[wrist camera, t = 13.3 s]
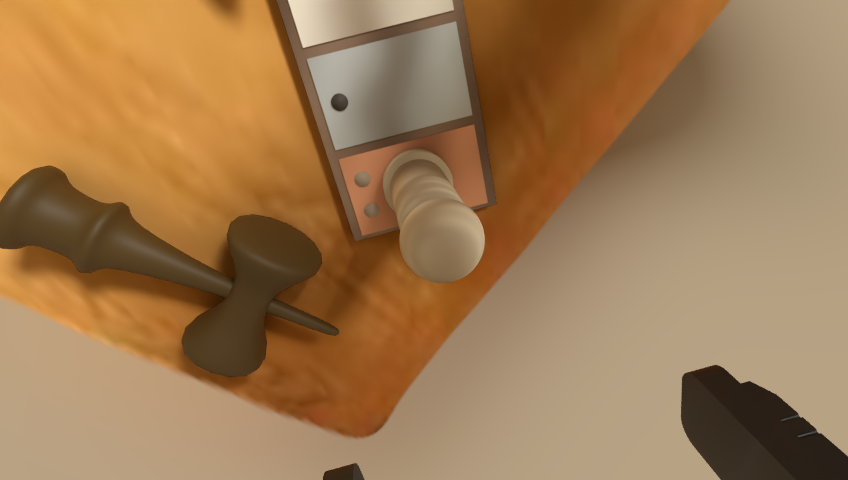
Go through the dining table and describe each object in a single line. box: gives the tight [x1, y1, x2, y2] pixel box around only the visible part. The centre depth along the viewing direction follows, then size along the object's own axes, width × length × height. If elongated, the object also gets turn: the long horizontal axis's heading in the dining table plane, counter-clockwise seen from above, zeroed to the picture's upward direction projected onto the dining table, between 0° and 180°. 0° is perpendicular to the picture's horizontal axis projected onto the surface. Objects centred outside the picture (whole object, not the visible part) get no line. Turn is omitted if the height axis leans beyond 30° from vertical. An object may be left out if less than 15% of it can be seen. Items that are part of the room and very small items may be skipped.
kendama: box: [0, 166, 339, 377], centre depth 29 cm, size 6×10×20 cm
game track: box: [277, 0, 497, 241], centre depth 28 cm, size 10×18×1 cm, turn 13°
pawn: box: [383, 148, 485, 283], centre depth 25 cm, size 4×4×11 cm
